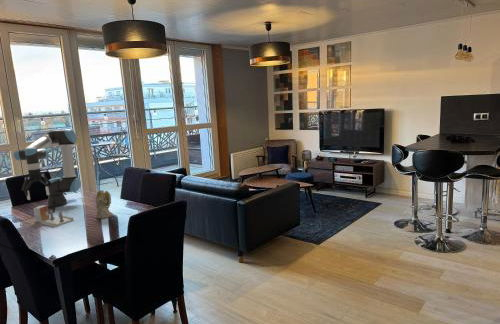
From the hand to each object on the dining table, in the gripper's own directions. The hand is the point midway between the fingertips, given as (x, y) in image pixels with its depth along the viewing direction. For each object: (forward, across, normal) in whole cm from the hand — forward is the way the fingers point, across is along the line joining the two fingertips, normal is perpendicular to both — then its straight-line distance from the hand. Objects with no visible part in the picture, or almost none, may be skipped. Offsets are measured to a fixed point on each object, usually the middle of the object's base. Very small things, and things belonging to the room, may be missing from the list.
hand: (38, 197), depth 251 cm
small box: (+18, 0, 0) cm, 18 cm away
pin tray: (+18, -2, +16) cm, 24 cm away
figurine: (+18, -24, +40) cm, 50 cm away
